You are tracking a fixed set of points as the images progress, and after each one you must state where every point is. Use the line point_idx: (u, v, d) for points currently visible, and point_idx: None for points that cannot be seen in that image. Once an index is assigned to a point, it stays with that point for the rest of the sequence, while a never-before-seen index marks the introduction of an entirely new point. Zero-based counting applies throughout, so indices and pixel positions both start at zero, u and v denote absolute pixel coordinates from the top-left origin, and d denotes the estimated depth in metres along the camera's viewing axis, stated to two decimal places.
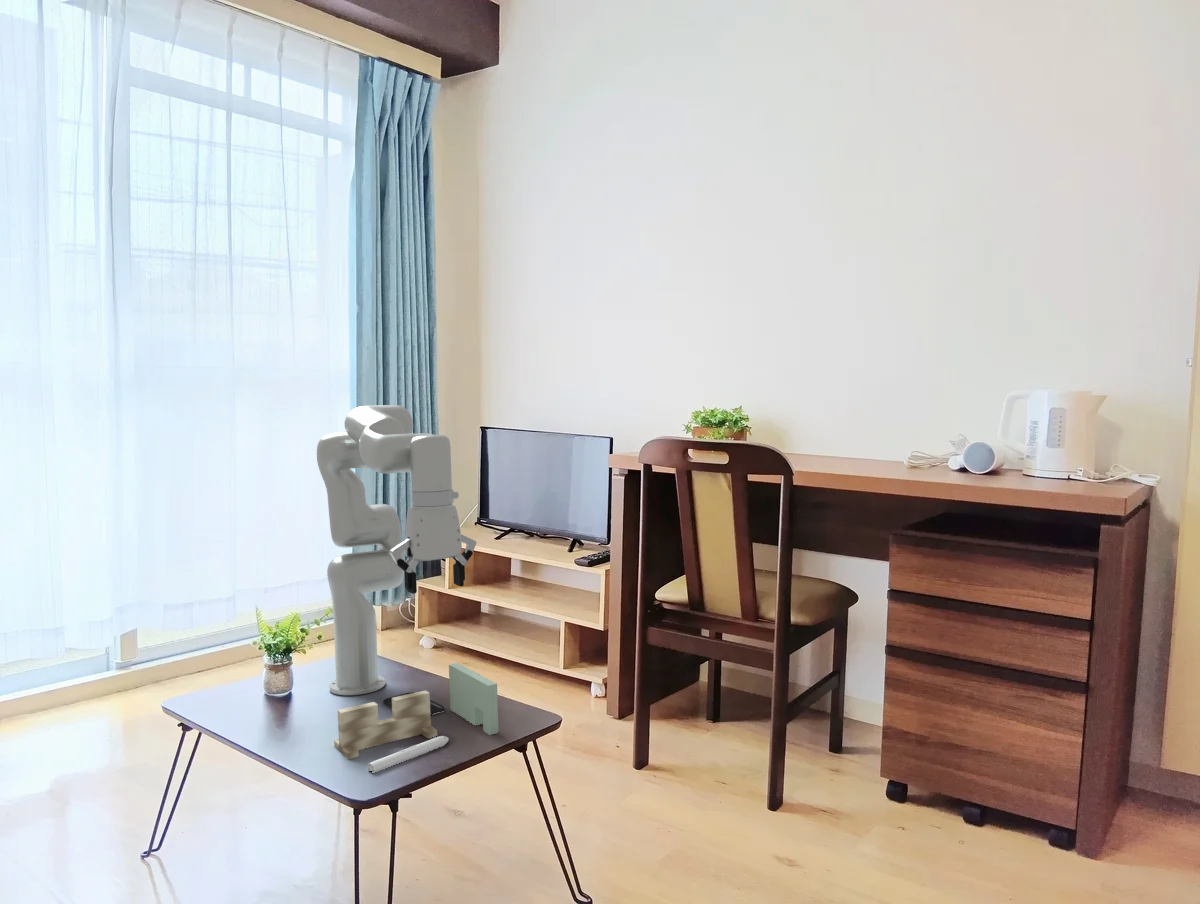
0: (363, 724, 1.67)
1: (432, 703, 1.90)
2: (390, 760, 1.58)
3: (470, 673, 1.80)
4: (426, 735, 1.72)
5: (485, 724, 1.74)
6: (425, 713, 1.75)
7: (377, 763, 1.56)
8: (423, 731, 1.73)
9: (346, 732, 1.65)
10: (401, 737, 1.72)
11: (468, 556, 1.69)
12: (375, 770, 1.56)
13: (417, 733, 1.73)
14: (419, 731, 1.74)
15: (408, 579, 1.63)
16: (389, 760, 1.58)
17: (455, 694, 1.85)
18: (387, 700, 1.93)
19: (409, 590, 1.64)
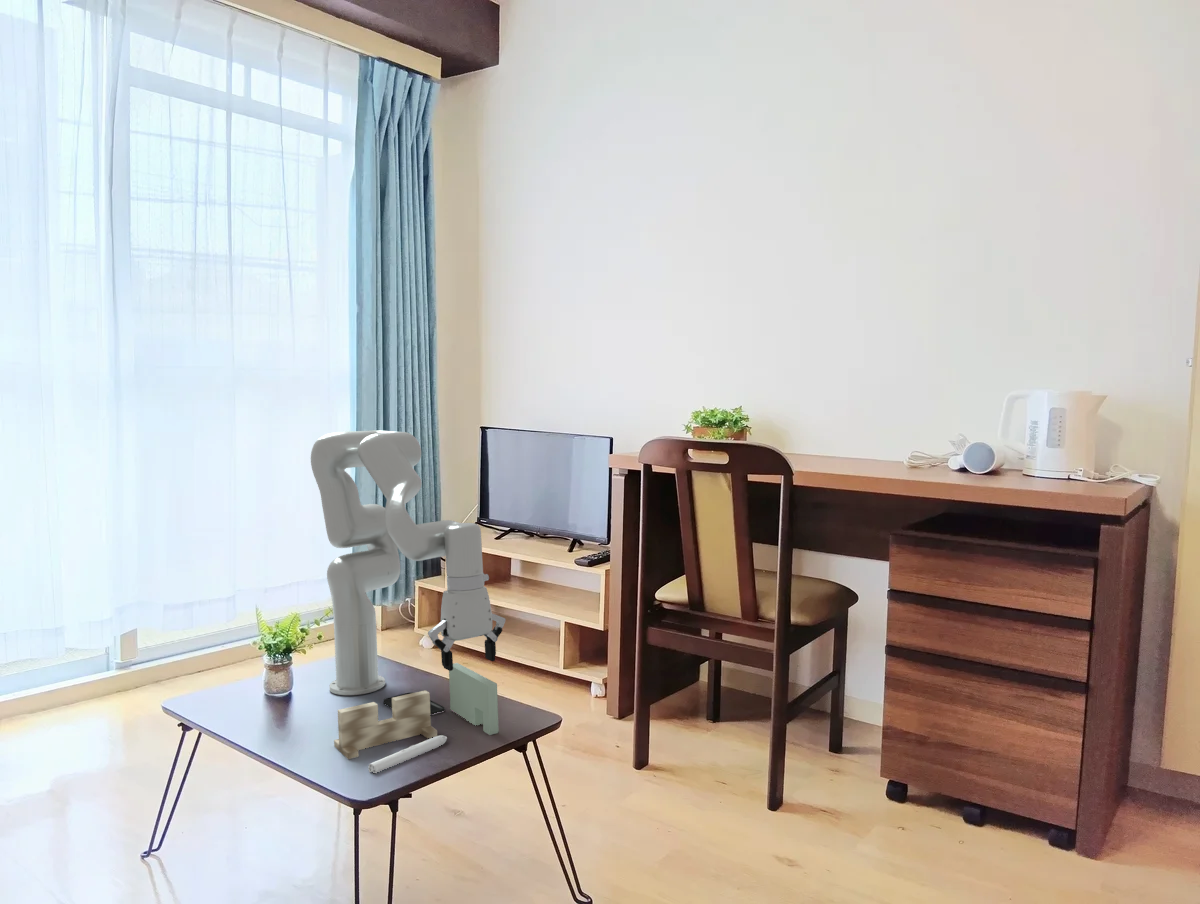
0: (363, 724, 1.67)
1: (432, 703, 1.90)
2: (391, 760, 1.58)
3: (470, 673, 1.80)
4: (426, 735, 1.72)
5: (485, 724, 1.74)
6: (425, 713, 1.75)
7: (378, 763, 1.56)
8: (423, 731, 1.73)
9: (346, 732, 1.65)
10: (401, 737, 1.72)
11: (498, 633, 1.84)
12: (376, 770, 1.56)
13: (417, 733, 1.73)
14: (419, 731, 1.74)
15: (445, 657, 1.77)
16: (390, 760, 1.58)
17: (455, 694, 1.85)
18: (387, 700, 1.93)
19: (446, 667, 1.79)
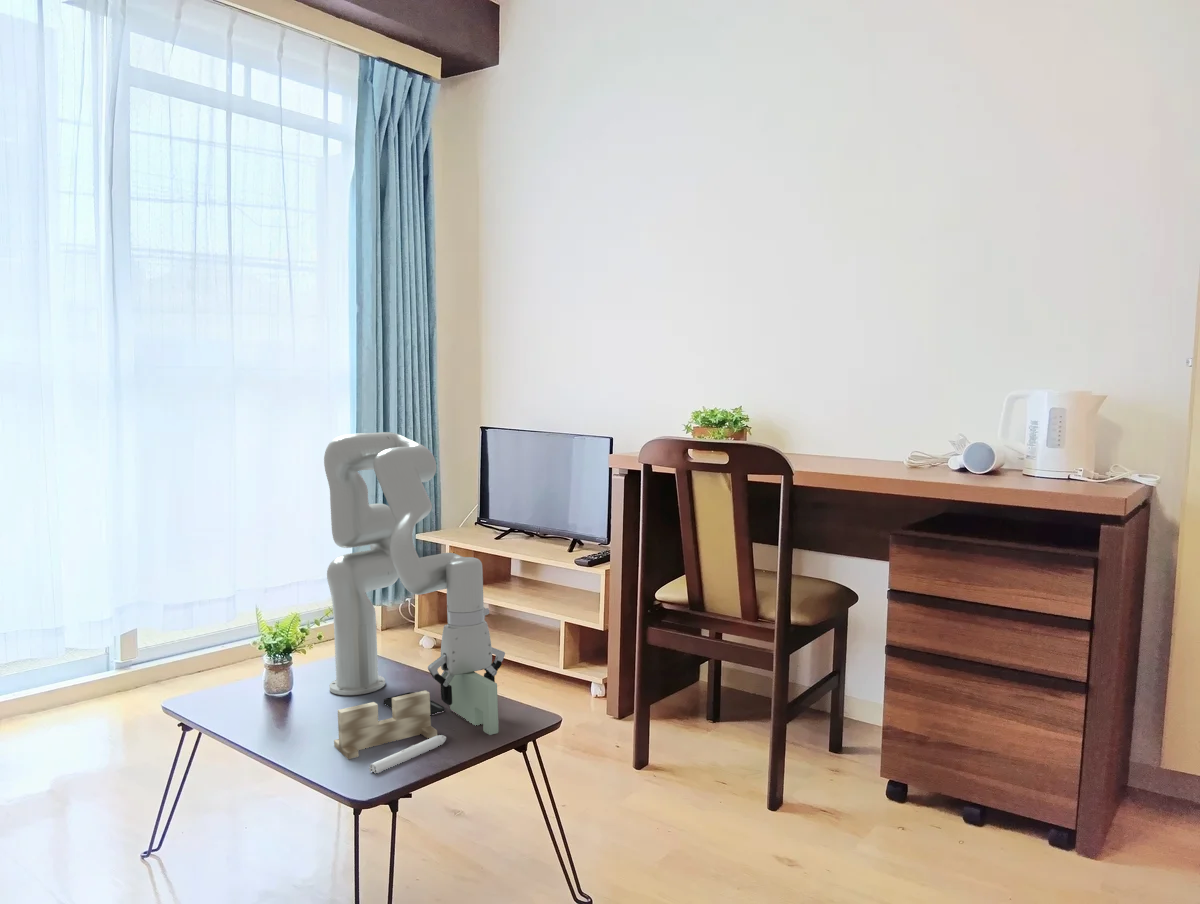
0: (363, 724, 1.67)
1: (432, 703, 1.90)
2: (392, 760, 1.58)
3: (470, 673, 1.80)
4: (426, 735, 1.72)
5: (485, 724, 1.74)
6: (425, 713, 1.75)
7: (379, 764, 1.56)
8: (423, 731, 1.73)
9: (346, 732, 1.65)
10: (401, 737, 1.72)
11: (498, 666, 1.85)
12: (378, 771, 1.56)
13: (417, 733, 1.73)
14: (419, 731, 1.74)
15: (444, 692, 1.78)
16: (391, 760, 1.58)
17: (455, 694, 1.85)
18: (387, 700, 1.93)
19: (445, 701, 1.79)
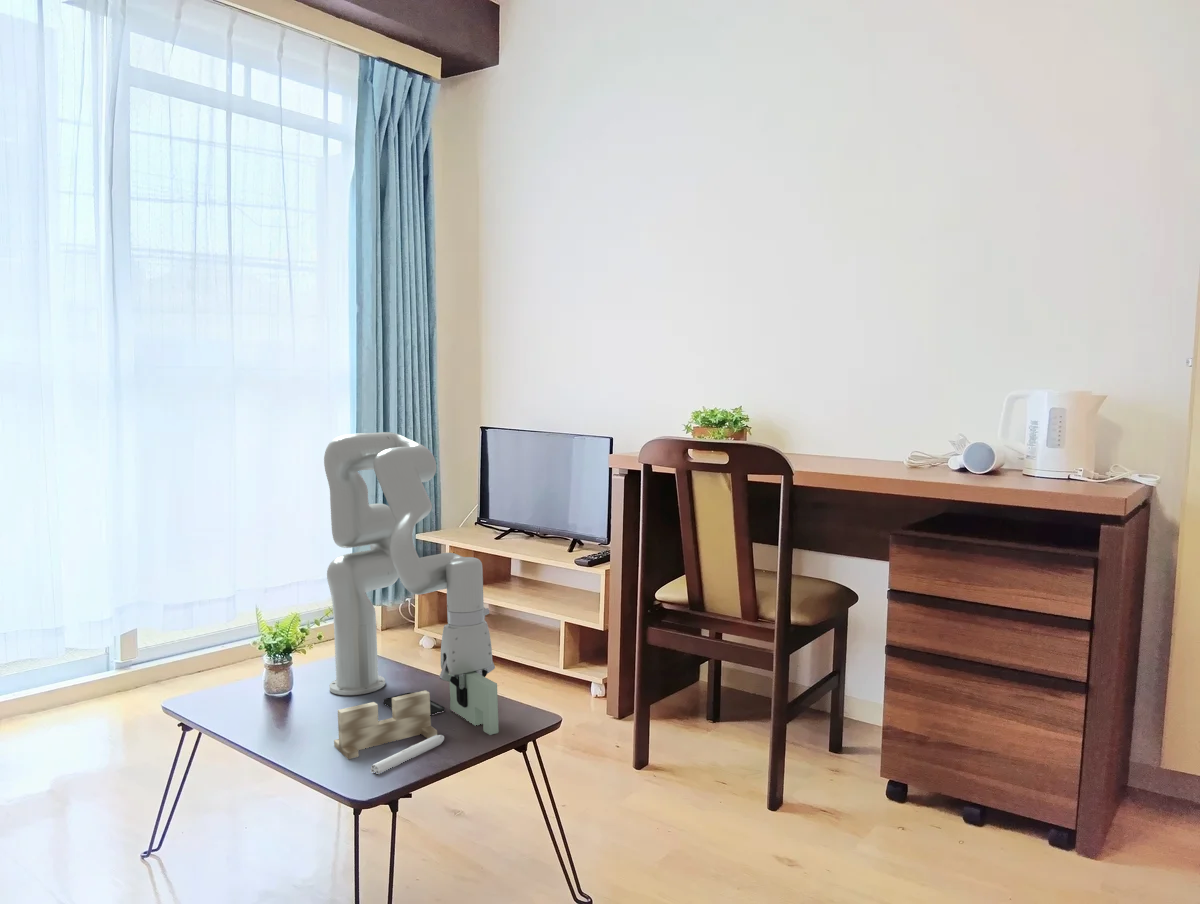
0: (363, 724, 1.67)
1: (432, 703, 1.90)
2: (393, 761, 1.58)
3: (470, 673, 1.80)
4: (426, 735, 1.72)
5: (485, 724, 1.74)
6: (425, 713, 1.75)
7: (381, 764, 1.56)
8: (423, 731, 1.73)
9: (346, 732, 1.65)
10: (401, 737, 1.72)
11: None
12: (379, 771, 1.55)
13: (417, 733, 1.73)
14: (419, 731, 1.74)
15: (460, 694, 1.80)
16: (392, 761, 1.58)
17: (455, 694, 1.85)
18: (387, 700, 1.93)
19: (460, 703, 1.81)
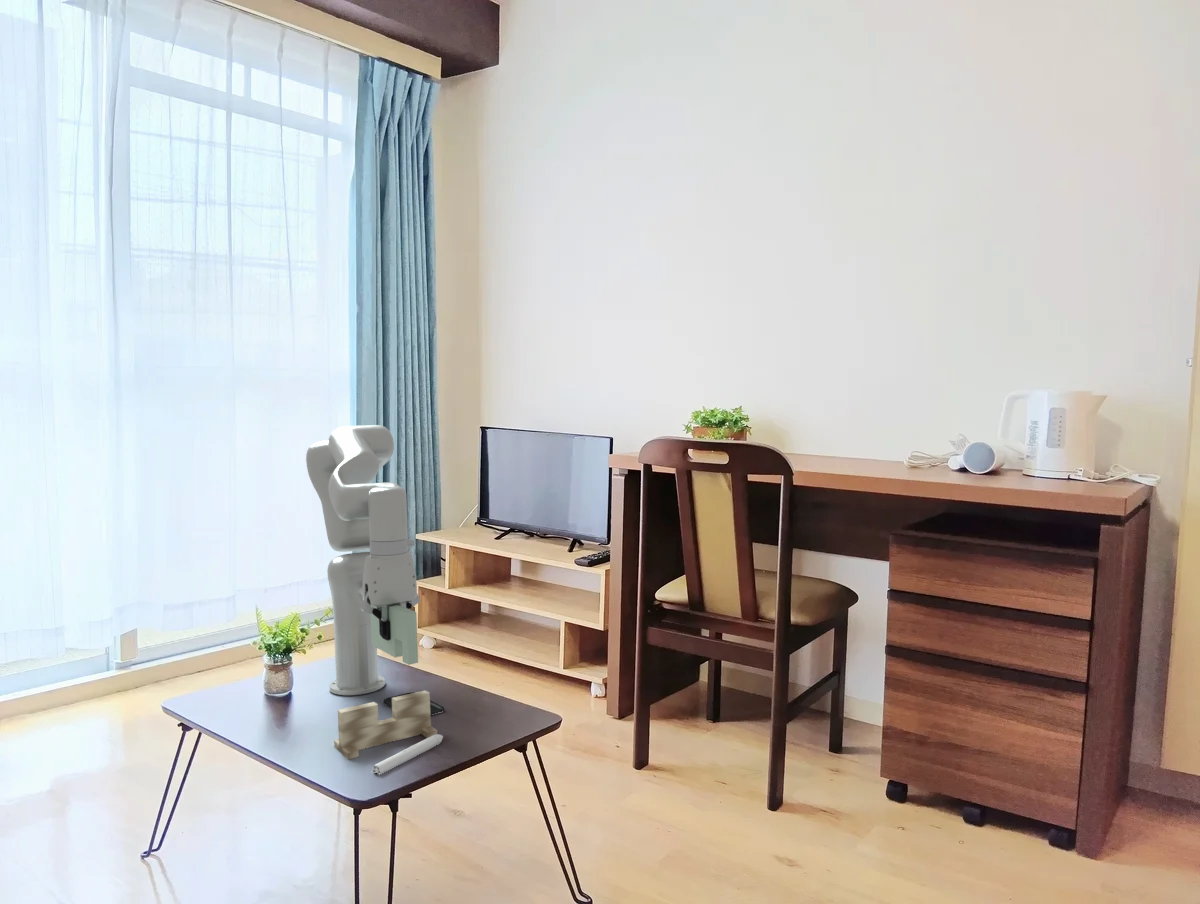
0: (363, 724, 1.67)
1: (432, 703, 1.90)
2: (394, 761, 1.58)
3: None
4: (426, 735, 1.72)
5: (404, 654, 1.70)
6: (425, 713, 1.75)
7: (383, 765, 1.56)
8: (423, 731, 1.73)
9: (346, 732, 1.65)
10: (401, 737, 1.72)
11: None
12: (381, 771, 1.55)
13: (417, 733, 1.73)
14: (419, 731, 1.74)
15: (383, 627, 1.75)
16: (393, 761, 1.58)
17: (376, 628, 1.80)
18: (388, 700, 1.93)
19: (383, 637, 1.76)
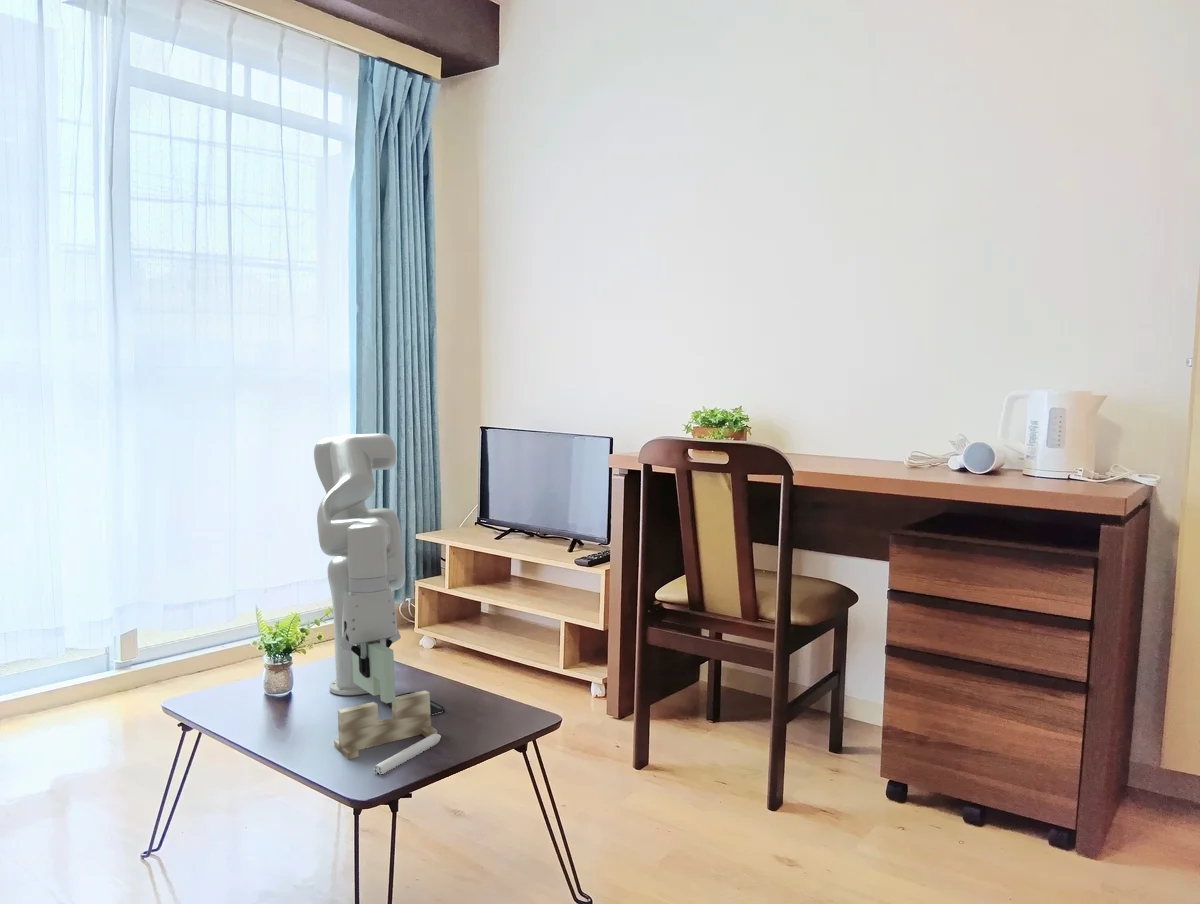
0: (363, 724, 1.67)
1: (432, 703, 1.90)
2: (395, 761, 1.58)
3: (369, 642, 1.75)
4: (426, 735, 1.72)
5: (382, 692, 1.69)
6: (425, 713, 1.75)
7: (384, 765, 1.56)
8: (423, 731, 1.73)
9: (346, 732, 1.65)
10: (401, 737, 1.72)
11: (387, 645, 1.76)
12: (383, 771, 1.55)
13: (417, 733, 1.73)
14: (419, 731, 1.74)
15: (362, 664, 1.73)
16: (394, 761, 1.58)
17: (357, 665, 1.79)
18: None
19: (363, 674, 1.75)
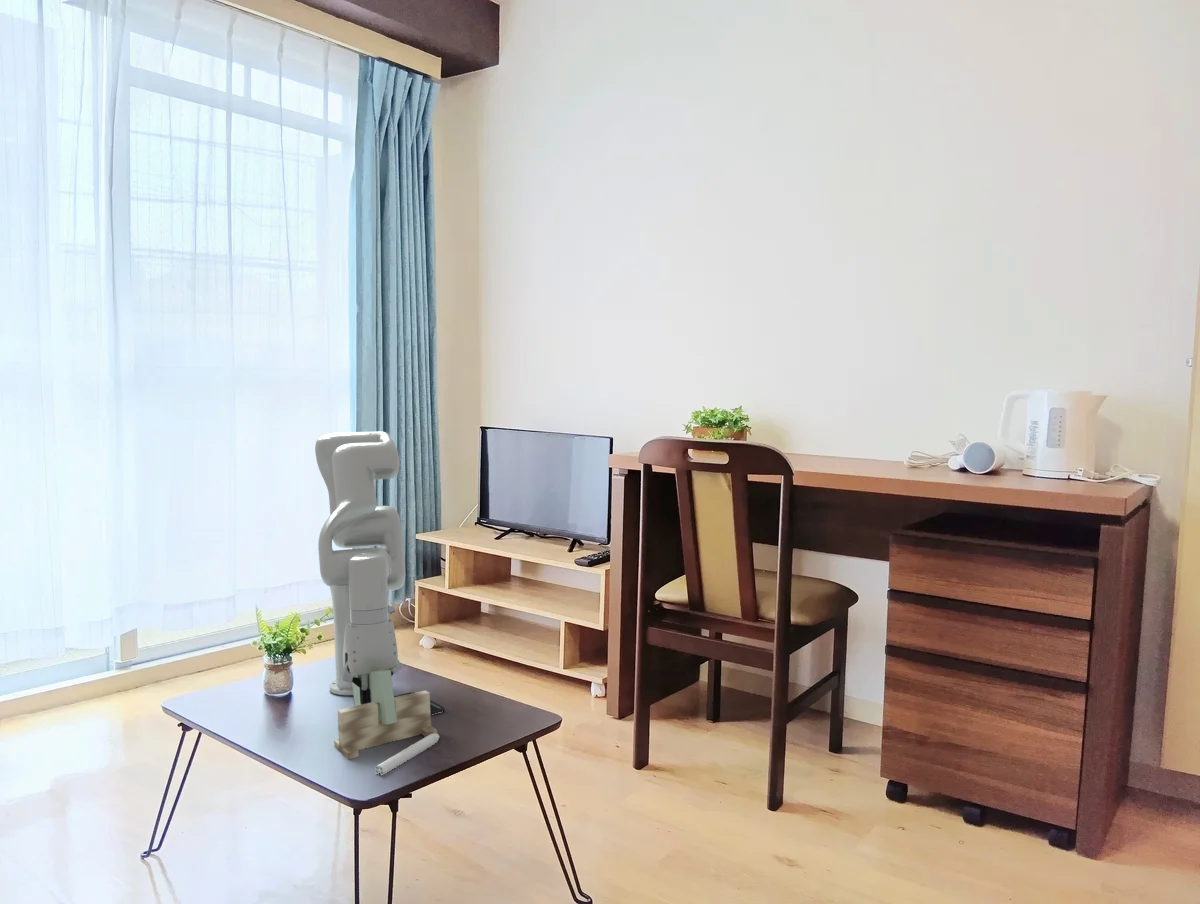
0: (363, 724, 1.67)
1: (432, 703, 1.90)
2: (396, 761, 1.58)
3: None
4: (426, 735, 1.72)
5: (382, 715, 1.69)
6: (425, 713, 1.75)
7: (385, 765, 1.56)
8: (423, 731, 1.73)
9: (346, 732, 1.65)
10: (401, 737, 1.72)
11: None
12: (384, 772, 1.55)
13: (417, 733, 1.73)
14: (419, 731, 1.74)
15: (363, 696, 1.74)
16: (395, 761, 1.58)
17: (358, 700, 1.80)
18: None
19: None
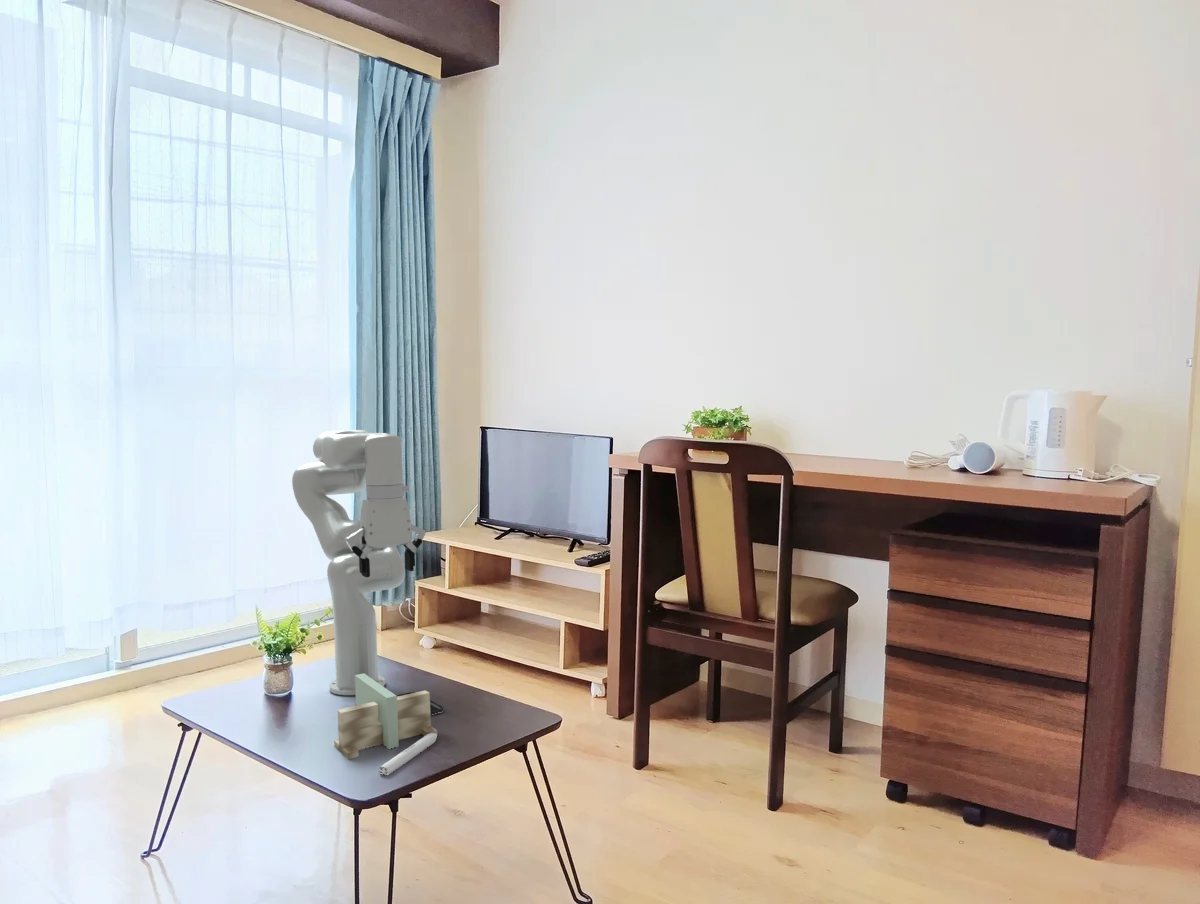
0: (363, 724, 1.67)
1: (432, 703, 1.90)
2: (399, 761, 1.58)
3: (373, 684, 1.74)
4: None
5: (385, 738, 1.68)
6: (425, 713, 1.75)
7: (389, 765, 1.56)
8: (423, 731, 1.73)
9: (346, 732, 1.65)
10: (401, 737, 1.72)
11: (418, 544, 1.87)
12: (389, 772, 1.55)
13: (417, 733, 1.73)
14: (419, 731, 1.74)
15: (362, 564, 1.81)
16: (398, 761, 1.58)
17: None
18: None
19: (363, 574, 1.82)
